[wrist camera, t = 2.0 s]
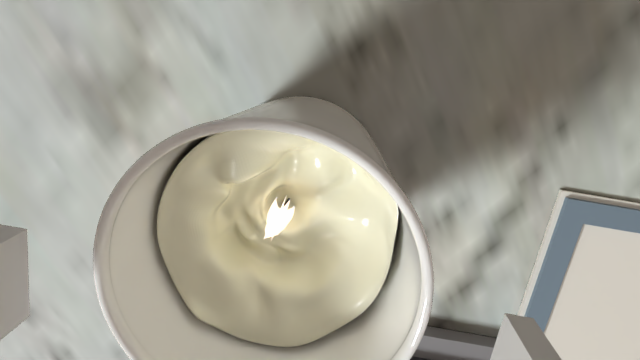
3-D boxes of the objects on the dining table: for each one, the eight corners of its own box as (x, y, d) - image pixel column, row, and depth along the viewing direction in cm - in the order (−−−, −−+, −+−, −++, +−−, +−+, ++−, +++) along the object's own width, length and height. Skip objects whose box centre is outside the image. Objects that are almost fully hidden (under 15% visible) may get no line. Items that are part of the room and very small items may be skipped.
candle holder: (328, 41, 22) (305, 39, 11) (428, 200, 24) (498, 341, 13) (176, 146, 24) (20, 239, 13) (280, 284, 26) (226, 471, 15)
